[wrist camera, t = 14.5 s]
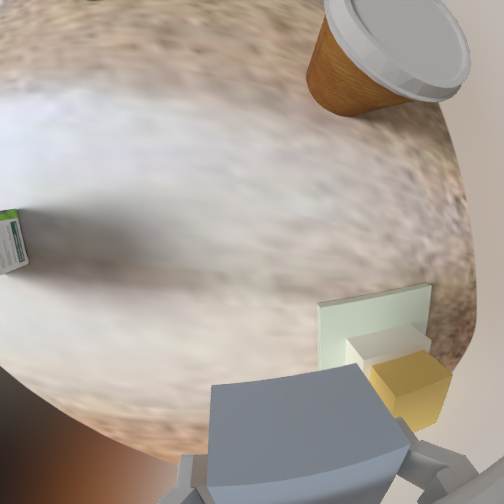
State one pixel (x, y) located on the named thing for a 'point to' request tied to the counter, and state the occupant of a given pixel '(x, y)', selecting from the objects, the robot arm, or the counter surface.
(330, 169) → the counter surface
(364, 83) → the disposable coffee cup
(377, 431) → the slate brick
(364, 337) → the base brick
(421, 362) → the mustard brick
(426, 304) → the plate
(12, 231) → the syrup box
